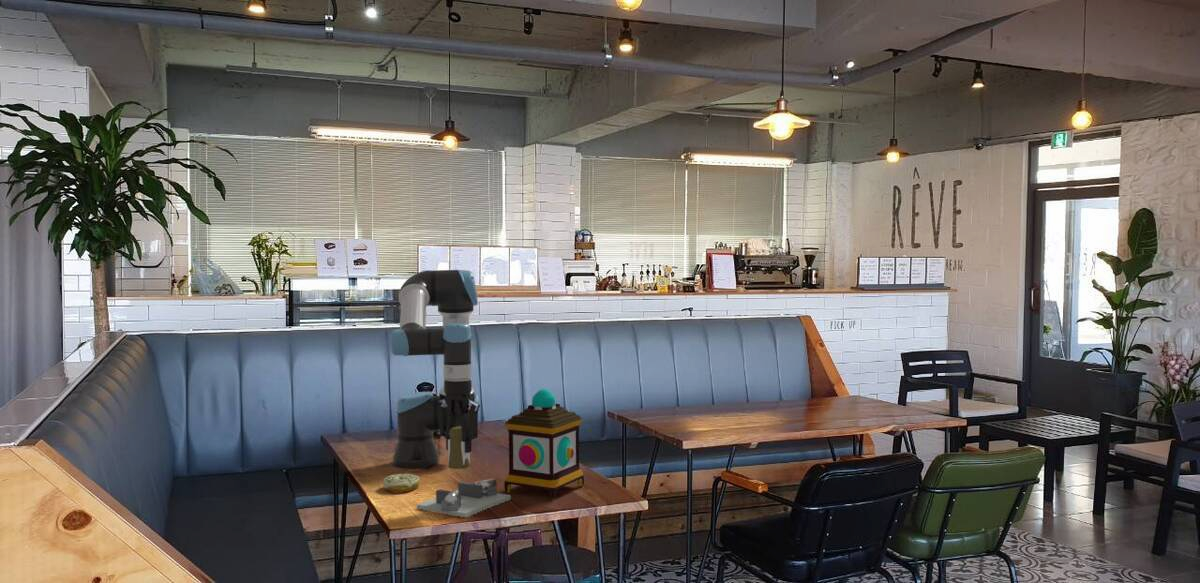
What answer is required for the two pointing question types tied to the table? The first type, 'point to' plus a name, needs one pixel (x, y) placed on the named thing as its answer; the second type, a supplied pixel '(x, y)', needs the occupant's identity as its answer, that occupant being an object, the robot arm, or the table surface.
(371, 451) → the table surface
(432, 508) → the rig
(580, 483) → the decorative lantern
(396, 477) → the decorated donut
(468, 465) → the cork
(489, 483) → the shaft
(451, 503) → the shaft
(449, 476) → the table surface
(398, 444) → the robot arm
